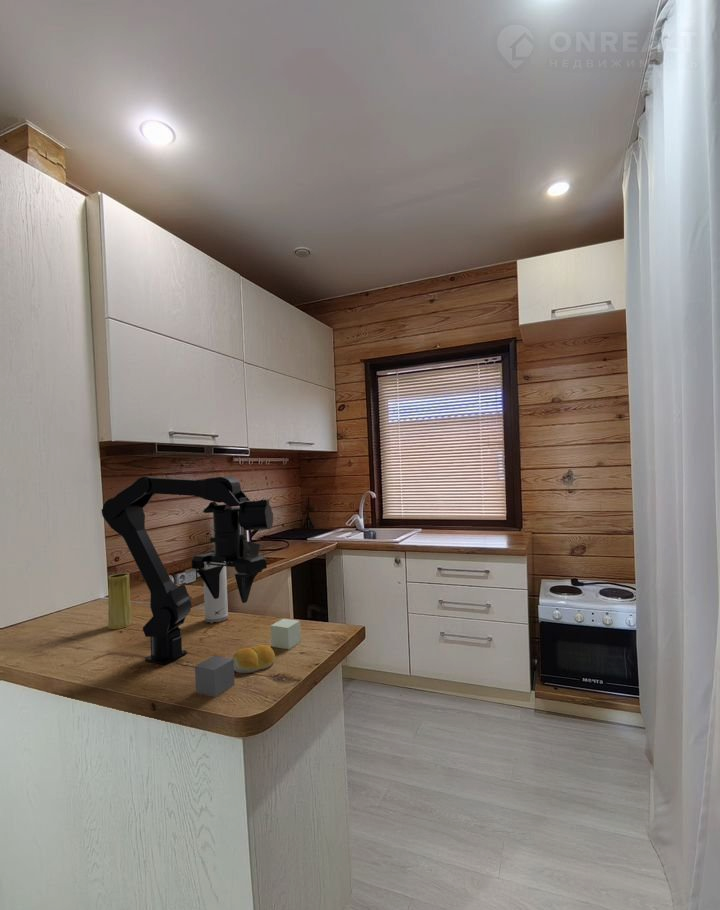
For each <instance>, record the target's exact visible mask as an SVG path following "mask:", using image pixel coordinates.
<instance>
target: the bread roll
mask: <svg viewBox="0 0 720 910" xmlns="http://www.w3.org/2000/svg"><path fill="white" fill-rule="evenodd" d="M232 659H233V660H234V672H236V673H238V674H251V673H254V672H257V671H260V670H265V669H268V668H270V667H272V665H273V664H274V661H275V659H276V654H275V652H274V649H273V647H270V646H269V645H267V644H260V645H254V646H251V647H244V648H239V649H237V650H236V652H235V653H234V654H233V655H232Z"/></svg>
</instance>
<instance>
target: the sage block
mask: <svg viewBox="0 0 720 910" xmlns="http://www.w3.org/2000/svg"><path fill="white" fill-rule="evenodd" d="M301 629H302V628H301V620H298V619H290V618H282V619H280V620H278V621H276V622H275V623H273V624H271V625H270V637H271V640H270V641H271V648H279V649H285V650H290V649H292V648H293V647H295V646H296V645H298V644H299V643H301V642H302V636H301V635H302V634H301V633H302V631H301Z"/></svg>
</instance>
